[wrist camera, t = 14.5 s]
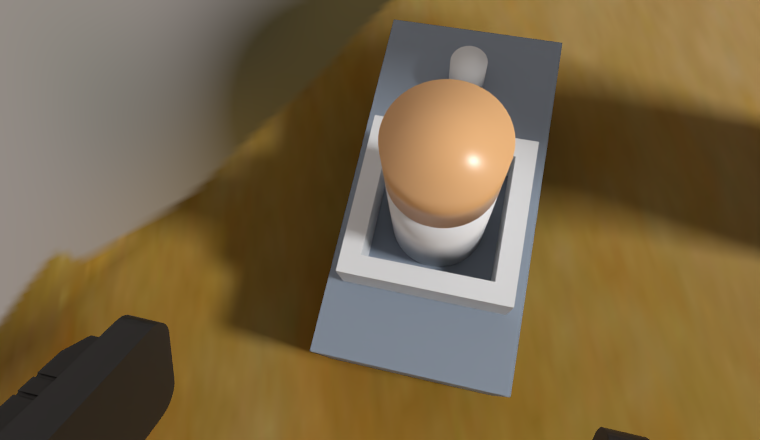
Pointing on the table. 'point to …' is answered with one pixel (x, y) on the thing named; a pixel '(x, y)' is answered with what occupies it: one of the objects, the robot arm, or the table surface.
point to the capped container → (444, 167)
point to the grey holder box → (470, 276)
